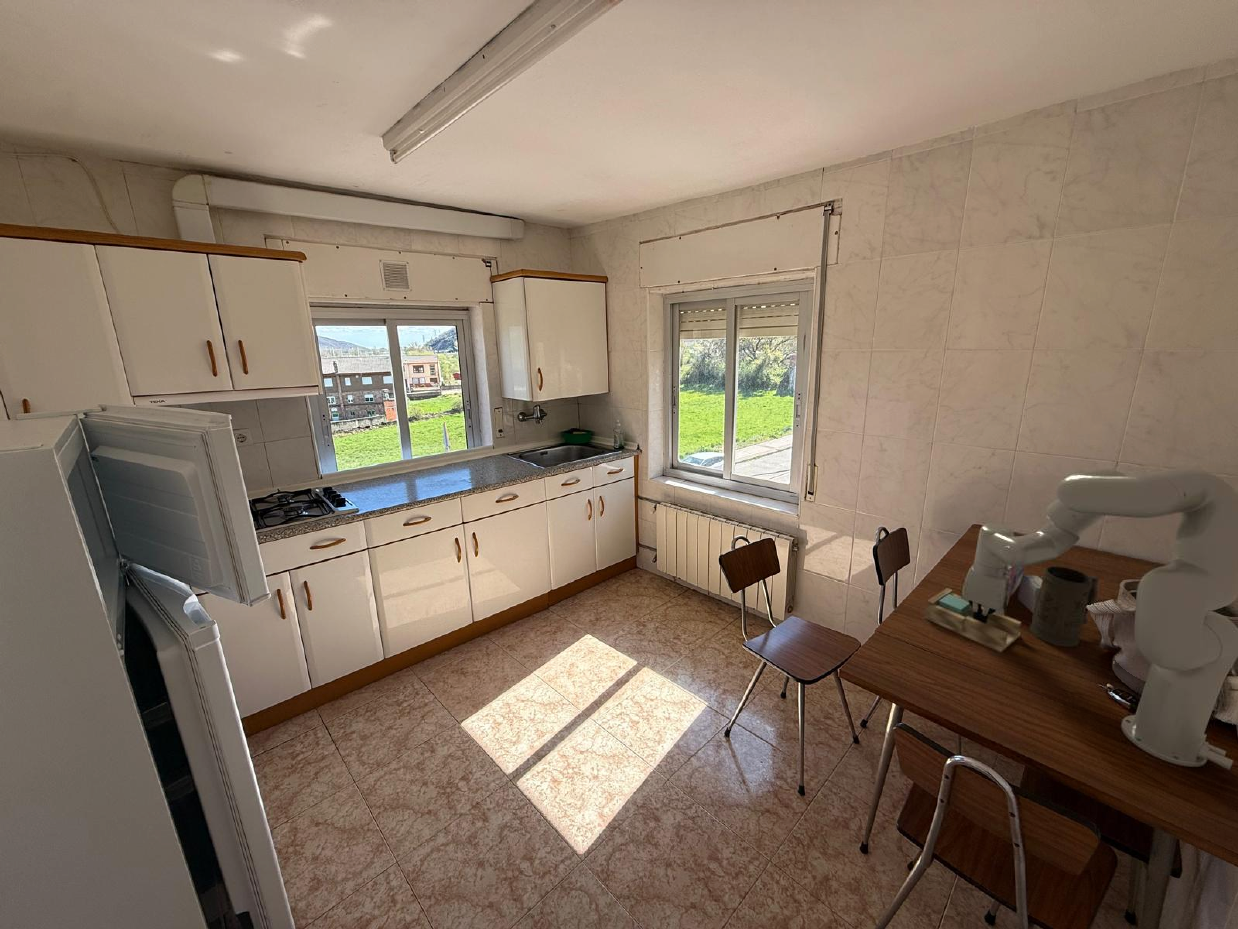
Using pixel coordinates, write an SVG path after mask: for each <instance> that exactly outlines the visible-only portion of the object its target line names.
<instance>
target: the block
mask: <svg viewBox="0 0 1238 929" xmlns="http://www.w3.org/2000/svg"><path fill="white" fill-rule="evenodd" d="M938 606H940V607H943V608H945V609H947V610H950V611H952V612H954V613H957V614H959V615H962V616H964V617H967V616H968V615H969V610H970V604H969V602H967V601H965V600H963V599H960V598H958V597H955V596H953V595H950V594H948V595H947V596H945V597H944V598H942V599H941V600H939V604H938Z"/></svg>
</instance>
